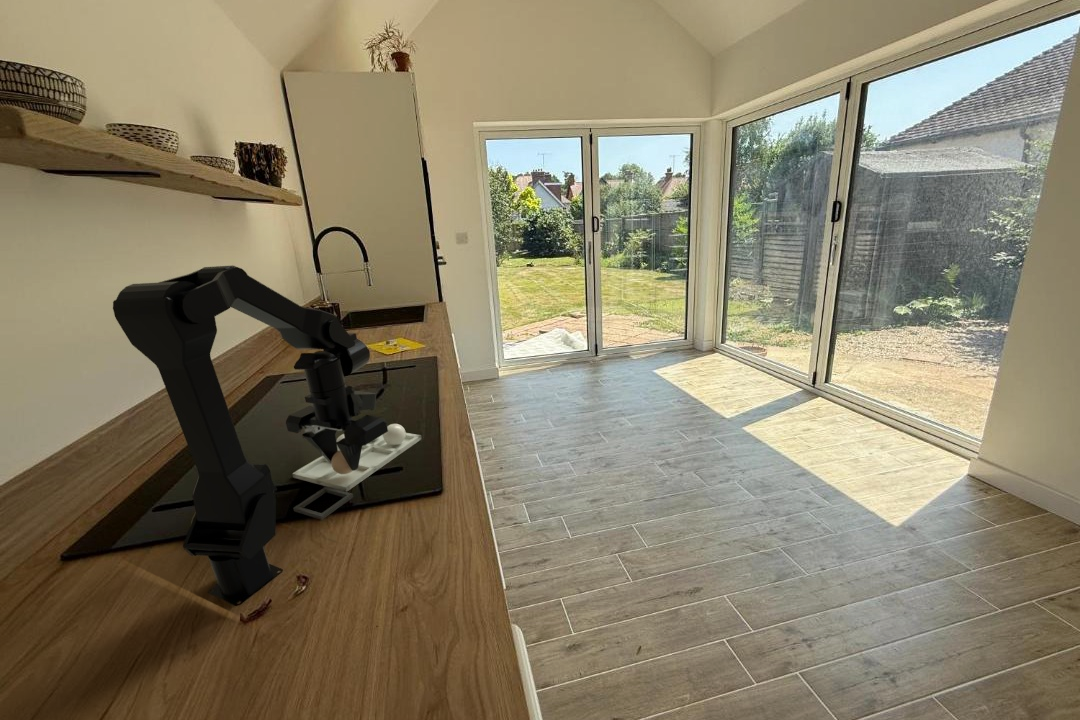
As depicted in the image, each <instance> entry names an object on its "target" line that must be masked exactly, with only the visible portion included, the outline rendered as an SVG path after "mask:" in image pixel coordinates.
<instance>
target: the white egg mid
mask: <svg viewBox="0 0 1080 720" xmlns="http://www.w3.org/2000/svg"><path fill="white" fill-rule="evenodd" d="M343 438H345V436H344V433H342V434H341V435H339V436H338V437H337V438H336V442H338V441H340V440H342V439H343ZM337 449H338V451H340V449H339V447H338V446H337Z"/></svg>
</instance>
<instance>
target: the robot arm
mask: <svg viewBox="0 0 1080 720" xmlns="http://www.w3.org/2000/svg"><path fill="white" fill-rule="evenodd" d="M231 308H232V309H234V310H237V311H238V312H240V313H243V314H245V315H247V316H249V317H250V318H253V319H254V320H257V321H259V322H261V323H263V324H265V325H268V326H270V327H271V328H274V329H276V330H277V331H278V332H279V334H280V337H281V339H282V340H283V341H285V342H286V343H288V344H289V345H290V346H292V347H293V348H294V349H297V350H318V351H315V352H301V353H300V355H299V357H298V359H297V360H296V361H295V363H294V365H293V369H294V370H296V371H298V370H299V371H300V370H303V371H304V374H305V375H304V376H305V379H306V383H307V386H308V387H307V388H308V391H309V394H308V395H305V396H304V401H305V403H309V404H312V405H308V406H306V407H304V408H301V409H300V410H297V411H295V412H293V413H291V414H288V417H287V418H286V420H285V425H286V429H287V432H290V433H295V434H299V433H301V432H302V431H303V428H304V433H303V434H301V437H302V438H303V439H305V440H307V441H308V442H309V443H310V444H311V445H312V446H313V447H314V448H315V449H316V450H317V451H318V452H319V453H320V454H321V456H324V457H325V458H326V459H327V460H328V461H329V462H330V463H331V460H332V457H333V455H334V454H335V453H336V452H338V449H337V446H338V447H339V449H340V451H341V453H342V454H343V456H344V458H345V460H346V462H347V463H348V465H349V467H350V468H351V470H353V471H354V470H356V469H357V468H358V466H359V460H360V455H361V449H362V446H363V445H367V444H368V443H370V442H372V441H373V440H375V439H376V438H378V437H380V436H381V435H383V434H384V433H386V432H388V428H387V426H388V423H387V419H385V418H384V417H382V416H376V415H370V414H366V415H364V416H362V417H360V418H359V419H357V420H353V419H352V418H353V417H358V416H359V415H361V411H376V405H377V404H376V403H377V402H376V401H377V393H376V392H369V391H360V390H359V391H358V390H355V388H354V386H352V385H346V381H345V377H348V376H349V375H351V374H354V372H356V371H358V370H359V369H361V368H362V367H364V366H366V365H367V364H368V363H369V361H370V358H371V353H370V352H371V351H370V349H369V348H368V347H367V344H366V343H364V341H363V340H360V339H359V338H358V337H357V334H356V333H355V332H349V333H348V330H346V329H345V327H344V326H343V325H342V324H341V322H340V320H339V318H338V317H337V316H336V315H335V314H333V313H330V312H329V311H324V310H322V309H317V308H316V309H315V308H310V307H305V306H301V305H299V304H298V303H296V302H295V301H293V300H290V299H289V298H288V297H286V296H284V295H282V294H280V293H279V292H277V291H276V290H274V289H273V288H270V287H269V286H267V285H265V284H264V283H262V282H260V281H258V280H257V279H255V278H253V277H252V276H250V275H248V273H247V272H246V271H245V270H244V269H243V268H241V267H238V266H236V265H220V266H219V265H218V266H217V265H216V266H204V267H202V268H200V269H197V270H195V271H193V272H191V273H187V274H184V275H181V276H177V277H172V278H169V279H167V280H163V281H158V282H146V283H145V282H143V283H132V284H129V285H127V286H125V287H124V288H122V290H120V291H119V292H118V295H117V297H116V299H114V300H113V301H112V310H113V315H114V317H115V320H116V322H117V323H118V324H119V326H120V328H121V329H122V331H123V332H124V335H125V336H126V338H127V340H128V341H129V343H130V344H131V345H132V346H133V347H134V348H135V349H136V350H137V351H139V352H140V353H141V354H142V355H144V356H145V358H147V359H148V360H149V361H151V363H153V364H154V365H155V366H156V368H157V369H158V371H159V373H160V376H161V380H162V382H163V385H164V387H165V389H166V393H167V395H168V398H169V401H170V402H171V406H172V408H173V410H174V413H175V415H176V418H177V420H178V423H179V426H180V427H181V431H182V433H183V435H184V438H185V441H186V444H187V446H188V449H189V451H190V453H191V457H192V459H193V463H194V464H195V465H194V466H196V470H197V472H198V473H197V474H198V478H197V481H196V484H195V487H194V489H193V491H192V500H193V507H194V510H195V512H196V513H195V512H194V514H195V516H194V515H193V516H194V518H193V517H192V518H193V521H192V520H191V521H192V524H191V523H190V527H189V529H188V532H187V535H186V536H185V540H184V542H183V545H182V548H183V549H184V551H185V552H186V553H188V554H189V555H190V556H192V557H193V556H194V557H195V556H202V557H203V556H204V557H205V556H206V557H208V560H209V563H210V566H211V568H212V572H213V574H214V577H215V579H216V582H217V583H216V584H215V585H213V586H212V587H210V588H209V589H208V590H207V593H208V594H209V595H212V596H214V597H215V598H218V599H220V600H222V601H224V602H226V603H228V604H230V605H233V606H234V607H235V606H236V607H238V606H240V605H242V604H243V603H244V602H246V601H247V600H248V599H250V598H251V597H252V596H254V595H255V594H256V593H257V592H259V591H260V590H261V589H263V588H265V586H267V585H268V584H269V583H271V582H272V581H273V580H274V579H275V578H276V577H277V578H278V577H279V575H281V574H282V573H283V571H284V569H283V568H281V567H278V566H276V565H273V564H270V563H269V561H268V557H267V554H266V551H265V548H264V547H265V546H266V545H267V544H268V543H269V542H270V541H271V540H272V539H273V538H274V537H275V536H276V534H277V533H276V531H277V530H276V528H277V527H276V525H277V521H276V520H277V519H276V518H277V517H276V516H277V512H276V511H277V509H276V508H277V507H276V506H277V499H276V493H275V492H276V491H278V488H277V486H276V485H275V484H274V482H273V479H272V473H271V469H270V468H269V466H268V465H267V464H261V463H251V462H250V461H248V460H247V459H246V457H245V454H244V451H243V448H242V446H241V441H240V439H239V435H238V434H237V431H236V427H235V425H234V421H233V419H232V416H231V413H230V410H229V407H228V405H227V401H226V399H225V395H224V393H223V389H222V386H221V383H220V381H219V377H218V375H217V372H216V370H215V367H214V364H213V361H212V358H211V352H212V349H213V346H214V343H215V340H216V336H217V334H218V328H217V322H216V316H219V315H220V314H222V313H224V312H226V311H227V310H230V309H231ZM337 432H343V434H344V436H345V438H343V439H342V440H340V441H338V442H336V440H337V438H336V435H337ZM238 602H239V603H238Z"/></svg>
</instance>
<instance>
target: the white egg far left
mask: <svg viewBox="0 0 1080 720" xmlns="http://www.w3.org/2000/svg"><path fill="white" fill-rule="evenodd" d="M387 428H388V432H386V433H384V434H383V438H384V440H385V442H386V443H387V444H389V445H393V446H395V445H399V444H401V443H402V442H403V441H404V439H405V436H406V433H407V432H406V430H405V428H404V427H403V426H402V425H401V424H398V423H391V424H389V425H387Z"/></svg>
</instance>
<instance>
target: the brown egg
mask: <svg viewBox="0 0 1080 720" xmlns="http://www.w3.org/2000/svg"><path fill="white" fill-rule="evenodd" d="M331 466H332V468H333V470H334V471H335V472H337V473H339V474H348V473H350V472H352V471H353V470H351V468H350V467H349V465H348V463H347V462H346V460H345V458H344V456H343V454H342V453H341V451H338V452H336V453H335V454H334V455H333V457H332V460H331Z"/></svg>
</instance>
